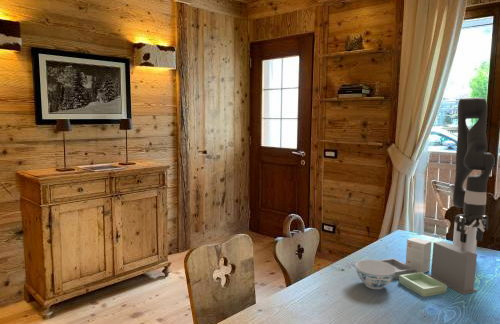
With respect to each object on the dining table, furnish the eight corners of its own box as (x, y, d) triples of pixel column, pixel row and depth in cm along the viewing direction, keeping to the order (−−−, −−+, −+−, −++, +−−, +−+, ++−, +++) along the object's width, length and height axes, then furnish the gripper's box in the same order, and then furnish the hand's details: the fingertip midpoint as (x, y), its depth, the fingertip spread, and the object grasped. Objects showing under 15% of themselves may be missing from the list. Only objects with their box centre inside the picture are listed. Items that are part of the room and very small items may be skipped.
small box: (429, 270, 168) (432, 241, 166) (422, 274, 164) (425, 244, 162) (412, 264, 174) (414, 236, 172) (404, 268, 170) (406, 239, 168)
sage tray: (420, 278, 159) (420, 271, 158) (446, 292, 147) (446, 285, 146) (398, 282, 155) (399, 275, 155) (423, 296, 143) (424, 289, 142)
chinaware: (396, 282, 155) (397, 263, 154) (392, 297, 142) (394, 277, 141) (357, 275, 161) (358, 257, 160) (351, 289, 148) (352, 270, 147)
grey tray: (393, 264, 174) (393, 258, 173) (414, 275, 161) (415, 269, 161) (373, 267, 170) (373, 260, 169) (393, 279, 158) (394, 272, 157)
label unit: (440, 274, 164) (443, 240, 162) (476, 291, 148) (480, 254, 146) (427, 276, 161) (430, 242, 160) (462, 294, 146) (466, 256, 144)
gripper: (479, 199, 160) (475, 237, 162) (453, 200, 155) (450, 240, 157) (496, 203, 153) (492, 242, 155) (469, 204, 148) (465, 245, 150)
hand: (471, 241), depth 156 cm, fingers open, 8 cm apart
